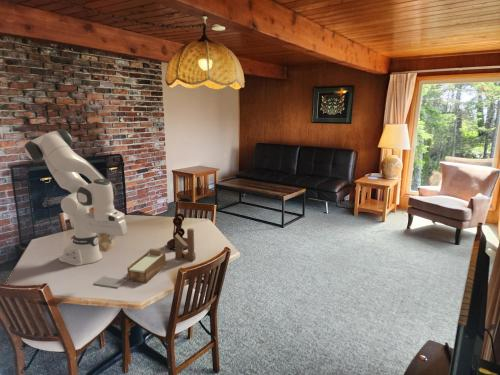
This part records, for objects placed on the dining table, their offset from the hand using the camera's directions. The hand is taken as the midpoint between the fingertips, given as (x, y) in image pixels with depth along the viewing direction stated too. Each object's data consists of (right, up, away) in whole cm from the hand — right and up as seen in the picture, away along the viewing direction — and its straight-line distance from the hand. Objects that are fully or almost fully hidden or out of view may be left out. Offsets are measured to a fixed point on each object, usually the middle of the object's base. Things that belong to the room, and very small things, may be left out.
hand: (106, 242), depth 163 cm
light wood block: (0, -3, +1) cm, 3 cm away
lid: (+15, -13, +15) cm, 24 cm away
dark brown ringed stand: (+24, -10, +50) cm, 56 cm away
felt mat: (0, -20, +5) cm, 21 cm away
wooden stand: (+31, -15, +32) cm, 47 cm away
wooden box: (+15, -18, +16) cm, 28 cm away
